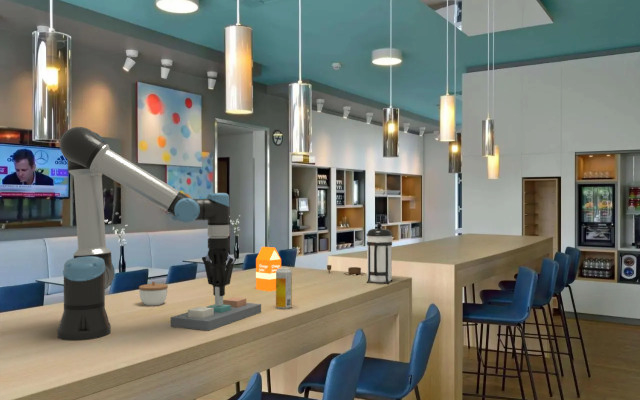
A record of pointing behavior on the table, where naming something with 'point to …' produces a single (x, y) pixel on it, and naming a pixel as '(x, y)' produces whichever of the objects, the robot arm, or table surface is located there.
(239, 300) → the terracotta button
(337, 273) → the table surface
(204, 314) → the cream button
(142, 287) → the lidded jar
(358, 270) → the place setting
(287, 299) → the beer can
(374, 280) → the coffee press
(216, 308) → the teal button
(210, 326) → the panel
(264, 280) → the orange juice
